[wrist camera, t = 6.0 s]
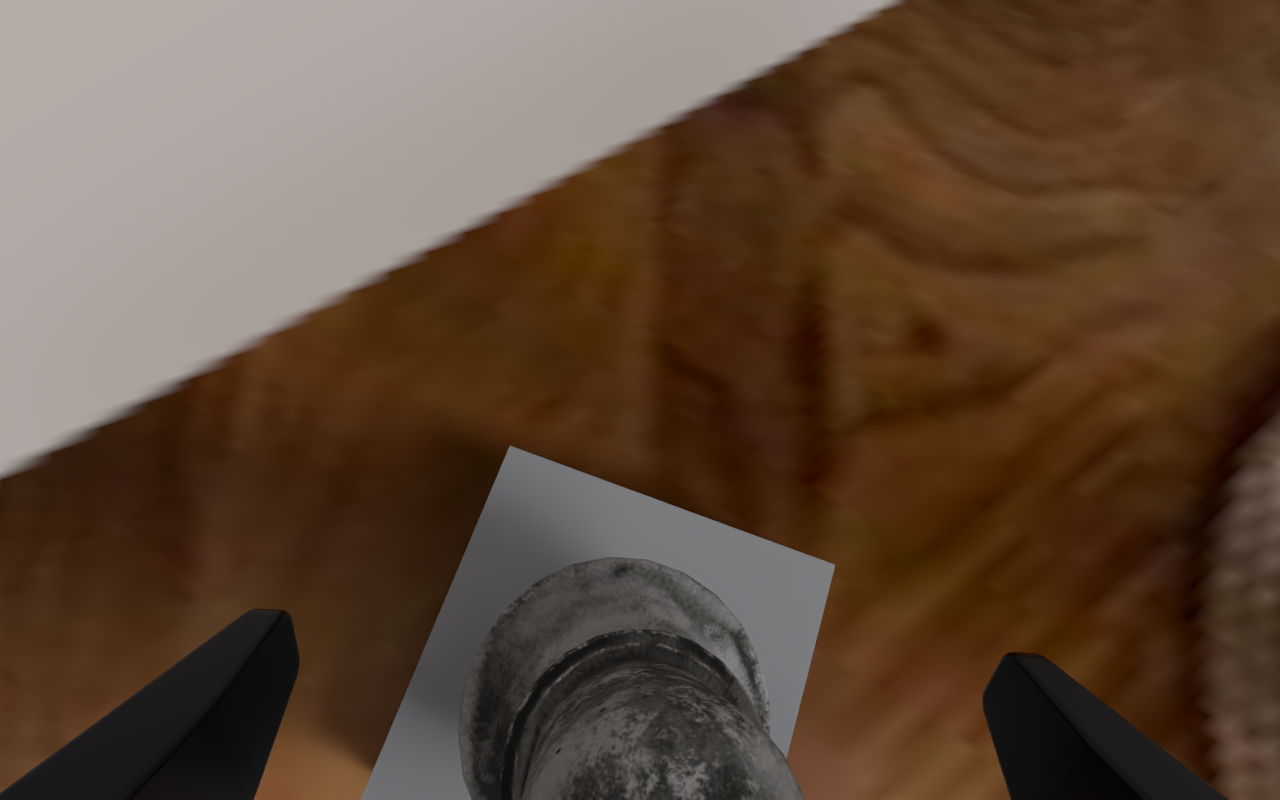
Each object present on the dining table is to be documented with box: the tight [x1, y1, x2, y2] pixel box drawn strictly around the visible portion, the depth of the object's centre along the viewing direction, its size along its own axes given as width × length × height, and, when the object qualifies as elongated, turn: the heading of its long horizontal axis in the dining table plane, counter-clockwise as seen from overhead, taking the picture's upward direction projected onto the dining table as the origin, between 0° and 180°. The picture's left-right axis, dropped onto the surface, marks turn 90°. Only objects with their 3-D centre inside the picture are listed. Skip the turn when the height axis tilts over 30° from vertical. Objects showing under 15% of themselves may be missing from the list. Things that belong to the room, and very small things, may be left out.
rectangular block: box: [361, 446, 835, 800], centre depth 17 cm, size 9×9×3 cm
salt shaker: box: [458, 557, 804, 800], centre depth 10 cm, size 6×6×12 cm
